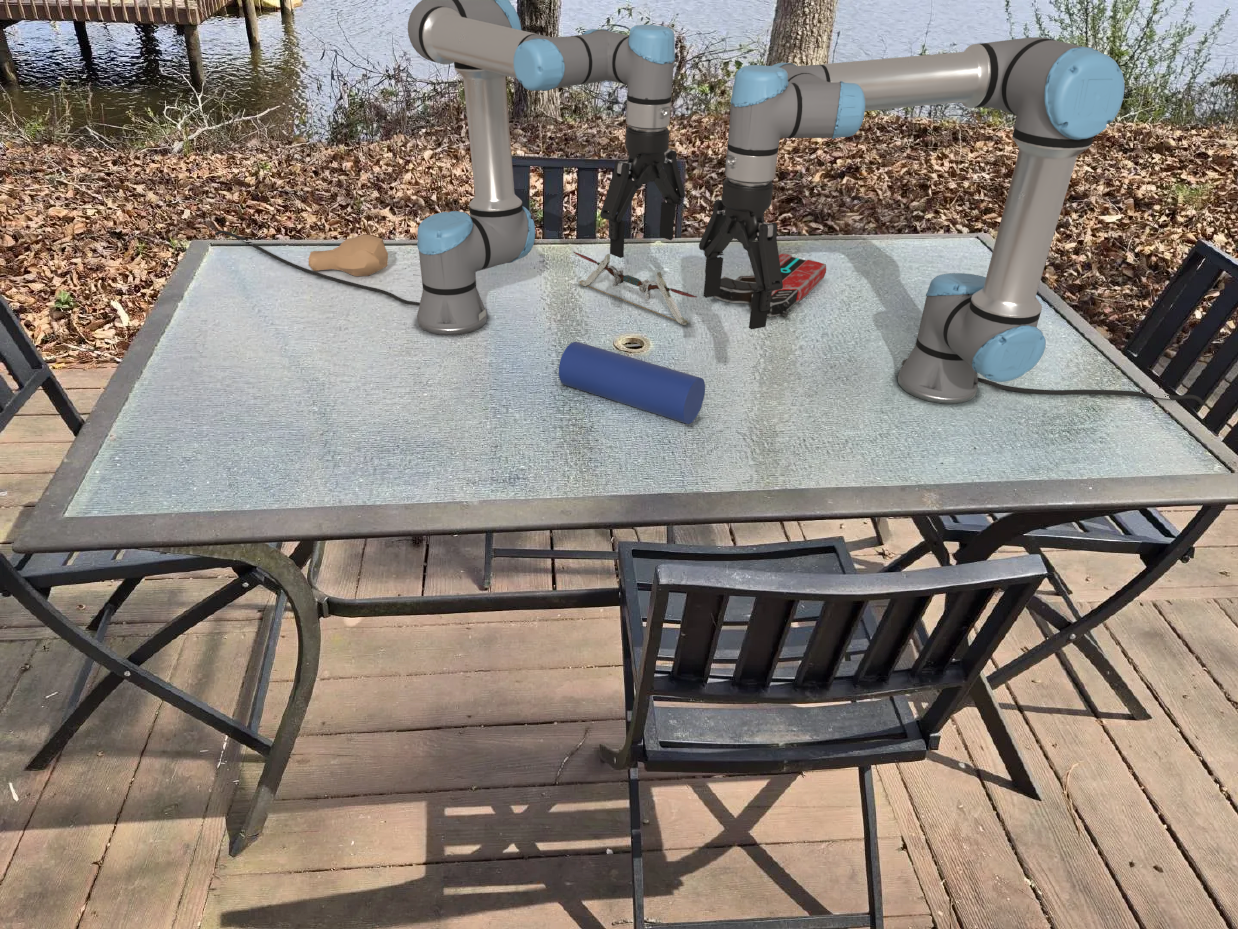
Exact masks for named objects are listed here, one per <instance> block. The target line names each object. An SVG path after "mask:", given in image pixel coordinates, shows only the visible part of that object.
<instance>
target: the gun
mask: <svg viewBox="0 0 1238 929" xmlns="http://www.w3.org/2000/svg"><path fill="white" fill-rule="evenodd" d="M778 253H779V252H778ZM779 260H780V267H781V275H782V282H783V288H782V289H781V290H775V291H772V296H771V301H770V302H771V303H770V308H769V310H768V314H767V317H770V318H771V317H777V316H780V317H784V318H787V317H788V315H789V311H788V310H790V309H791V308H792V307H793V306H794V305H795V304H798V303H799V302H801V301H802V300H803V299H804V298H805V297H807V296H808V295H809V294H810V293H811V292H812V291H813V290H814V289H815V287H817V285H818V284H820V283H821V282H822V280H823V279H824V278H825V276H826V273H827V264H826V263H823V262H820V261H816V260H812V259H802V258H799V257H795V256H793V255H792V254H791V253H784V252H780V253H779ZM763 282H764V280H763ZM774 282H775V281H774ZM755 288H757V284H756V280H755V277H754V274H752V275H751V274H750V275H740V276H738V277H737V278H735V279H734V278H731V277H727V276H722V277H721V284H720V293H719V295H718V296H713V298H714V299H716V300H719V301H723V302H727V303H730V304H750V305H749V308H750V310H751V306H752V299H753V291H754V289H755Z"/></svg>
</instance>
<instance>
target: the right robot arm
mask: <svg viewBox="0 0 1238 929" xmlns="http://www.w3.org/2000/svg"><path fill="white" fill-rule="evenodd" d="M733 81H734V82H733V85H732V92H731V98H730V101H729V102H730V111H729V123H728V124H729V125H728V135H727V136H728V137H727V144H726V158H725V166H724V175H725V179H723V181H722V190H721V199H715V200H714V202H713V209H712V213H711V215H710V218H709V220H708V223H707V225H706V228H705V230H704V232H703V234H702V236H701V238H700V241H699V244H698V249H699V250H700V251H703V252H704V254H703V255H704V257H705V268H704V274H705V276H704V285H703V298H705V299H706V298H712V297H713V296H718V295H719V293H720V284H721V278H722V273H723V265H724V258H723V257H722V256H724V251H725V250H726V248H727V247H728V246H729V245H730V243H732V241H733V240H736V241H738V242H739V244H741V245H742V248H743V249H744V250H745V251H746V253H747V255H748V259H749V262H750V266H751V271H752V274H753V275H754V277H755V280H756V284H757V288H755V289H754V291H753V299H752V306H751V309H750V316H749V323H748V328H749V330H758V329H761V328H766V327H767V319H768V316H767V314H768V310H769V308H770V303H771V302H770V301H771V296H772V291H775V290H781V289H782V288H783V282H782V275H781V267H780V260H779V246H778V239H777V237H778V224H777V222H765V213H766V211H767V210H768V209H769V208H770V207H771V205H772V201H773V200H772V199H773V192H774V183H773V181H774V179H775V178H776V173H777V172H776V171H777V165H778V164H777V163H778V156H779V148H780V140H781V139H831V140H835V139H840V138H841V139H842V138H850V137H852V136H854V135H856V134H857V133H858V132H859V130H860V129H861V127H862V125H863V122H864V118H865V112H869V111H881V110H891V109H892V110H893V109H903V108H913V107H923V106H924V107H925V106H935V105H946V104H956V103H957V104H958V103H960V104H962V106H963V107H965V108H966V109H972V108H973V109H974V108H988V109H989V108H990V109H995V110H1000V111H1004V112H1006V113H1009V114H1012V115H1014V116H1016V119H1015V123H1014V127H1013V132H1012V136H1011V138H1012V140H1013V142H1014V143H1015V144H1016V145H1017V148H1018V154H1017V157H1016V161H1015V165H1014V169H1013V173H1012V176H1011V180H1010V184H1009V188H1008V192H1007V196H1006V200H1005V203H1004V207H1003V210H1002V215H1001V217H1000V222H999V226H998V230H997V234H996V236H995V237H996V238H995V242H994V246H993V250H992V253H991V256H990V261H989V265H988V269H987V273H986V276H983V275H979V274H974V273H964V272H963V273H962V272H951V273H942V274H939V275H936V276H935V277H933V278H932V279H931V281H930V283H929V286H928V289H927V291H926V294H925V296H926V297H925V301H924V306H923V309H922V314H921V318H920V323H919V328H918V332H917V336H916V341H915V345H914V346H913V348H912V350H911V351H910V353H909V355H908V357H907V358H906V359H903V360H902V362H901V367H900V369H899V372H898V376H897V383H898V385H899V387H901V389H902V390H904V391H905V392H906V393H907V394H909V395H911V396H913V397H915V398H918V399H921V400H923V401H926V402H927V401H928V402H931V403H935V404H942V405H943V404H945V405H954V404H963V403H966V402H969V401H971V400H972V399H974V397H975V396H976V395H977V391H978V387H979V384H983V385H987V386H990V387H993V388H995V389H996V388H997V389H999V390H1002V391H1003V390H1004V391H1008V392H1015V393H1022V394H1031V395H1033V394H1035V395H1050V396H1051V395H1052V396H1053V395H1054V396H1055V395H1056V396H1057V395H1059V396H1062V395H1063V396H1064V395H1065V396H1068V395H1069V396H1071V395H1109V396H1110V395H1112V396H1113V395H1115V396H1130V397H1142V398H1149V399H1150V398H1151V399H1156V398H1155V397H1154V396H1153V395H1151V394H1143V393H1140V392H1141V391H1138V390H1137V391H1135V390H1121V389H1120V390H1119V389H1039V388H1025V387H1016V386H1010V385H1005V384H1001V383H1005V382H1012V381H1013V380H1016V379H1019V378H1021V377H1022V376H1024V375H1025V374H1026V373H1027V372H1029V371H1031V370H1032V369H1034V368H1035V366H1036V365H1037V364H1038V363H1039V361H1040V360H1041V359H1042V357H1043V355H1044V353H1045V350H1046V343H1047V342H1046V337H1045V335H1044V334H1043V331H1042V330H1041V329H1039V327H1038V324H1039V321H1040V317H1041V313H1042V311H1043V305H1042V304H1041V302H1040V301H1039V299H1038V298H1037V294H1038V290H1039V286H1040V284H1041V280H1042V278H1043V274H1044V270H1045V267H1046V263H1047V260H1048V257H1049V253H1050V250H1051V246H1052V242H1053V240H1054V236H1055V233H1056V230H1057V227H1058V222H1059V219H1060V216H1061V212H1062V209H1063V206H1064V202H1065V200H1066V199H1065V198H1066V196H1067V193H1068V189H1069V185H1070V183H1071V182H1070V181H1071V178H1072V176H1073V172H1074V169H1075V165H1076V161H1077V158H1078V156H1079V155H1080V154H1082V153H1083V152H1085V151H1086V150H1088V149H1089V148H1091V147H1092V145H1093V141H1094V139H1095V136H1097V135H1099V134H1102V133H1103V131H1104V130H1106V129H1107V127H1108V126H1107V125H1108V124H1109V123H1113V121H1114V120H1115V119H1116V117H1117V115H1118V113H1119V112H1120V110H1121V107H1122V104H1123V100H1124V97H1125V79H1124V74H1123V71H1122V69H1121V68H1120V65H1119V64H1118V63H1117V62H1116V60H1115V59H1113V58H1112V57H1111V56H1109V55H1107V54H1105V53H1103V52H1101V51H1099V50H1097V49H1095V48H1093V47H1087V46H1083V45H1078V44H1074V43H1069V42H1064V41H1060V40H1056V39H1053V38H1049V37H1040V36H1039V37H1038V36H1037V37H1034V36H1033V37H1022V38H1013V39H1005V40H998V41H991V42H990V41H989V42H981V43H972V44H970V45H969V46H967V47H966V48H965V49H964V51H957V52H946V53H935V54H922V55H911V56H901V57H900V56H899V57H889V58H877V59H867V60H866V59H865V60H855V61H843V62H842V61H841V62H830V63H822V64H809V65H808V64H807V65H797V64H795V63H792V62H778V63H774V64H772V65H763V64H753V65H752V64H749V65H745V66H742V67H740V68H739V69H738V70H737V71H736V73H735V76H734V80H733ZM763 280H764V282H763ZM774 281H775V282H774ZM713 298H714V297H713ZM978 375H981V376H982V377H984V378H982V377H979V376H978ZM1166 395H1167V396H1169V398H1170V399H1171V400H1170V401H1183V400H1193V401H1195V402H1196V403H1197V404H1199V405H1205V402H1204V400H1203V399H1202V398H1201V397H1199V396H1198V395H1195V394H1176V395H1174V394H1166ZM1165 397H1166V396H1165Z"/></svg>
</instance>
